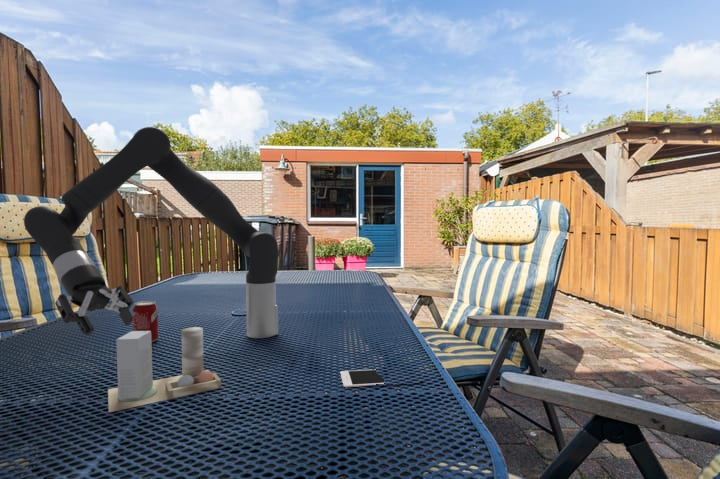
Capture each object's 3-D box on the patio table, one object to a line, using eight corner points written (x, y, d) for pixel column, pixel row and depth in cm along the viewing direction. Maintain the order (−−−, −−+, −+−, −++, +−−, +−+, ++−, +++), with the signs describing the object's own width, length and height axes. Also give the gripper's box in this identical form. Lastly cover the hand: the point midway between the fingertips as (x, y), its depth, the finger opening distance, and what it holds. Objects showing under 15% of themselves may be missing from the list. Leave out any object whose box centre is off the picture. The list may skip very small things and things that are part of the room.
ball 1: (192, 386, 83) (192, 371, 83) (195, 391, 81) (195, 376, 81) (176, 389, 82) (175, 374, 81) (178, 395, 79) (178, 379, 79)
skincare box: (132, 387, 82) (131, 330, 82) (153, 386, 82) (152, 330, 82) (116, 399, 76) (115, 339, 76) (139, 399, 76) (138, 338, 76)
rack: (208, 374, 93) (207, 324, 92) (221, 393, 83) (220, 336, 82) (108, 395, 82) (106, 337, 81) (108, 418, 72) (107, 353, 71)
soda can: (147, 345, 115) (146, 305, 114) (127, 344, 116) (126, 304, 116) (163, 339, 122) (162, 301, 121) (144, 338, 123) (143, 300, 122)
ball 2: (212, 381, 86) (211, 367, 85) (215, 386, 83) (215, 372, 83) (196, 385, 84) (196, 370, 84) (199, 390, 81) (199, 375, 81)
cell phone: (423, 385, 88) (423, 381, 88) (343, 390, 85) (343, 385, 85) (412, 370, 96) (412, 367, 96) (339, 374, 94) (339, 371, 94)
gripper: (49, 267, 84) (83, 325, 79) (115, 260, 96) (148, 310, 92) (37, 289, 86) (69, 347, 82) (103, 280, 99) (134, 330, 95)
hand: (111, 327), depth 87 cm, fingers open, 8 cm apart
